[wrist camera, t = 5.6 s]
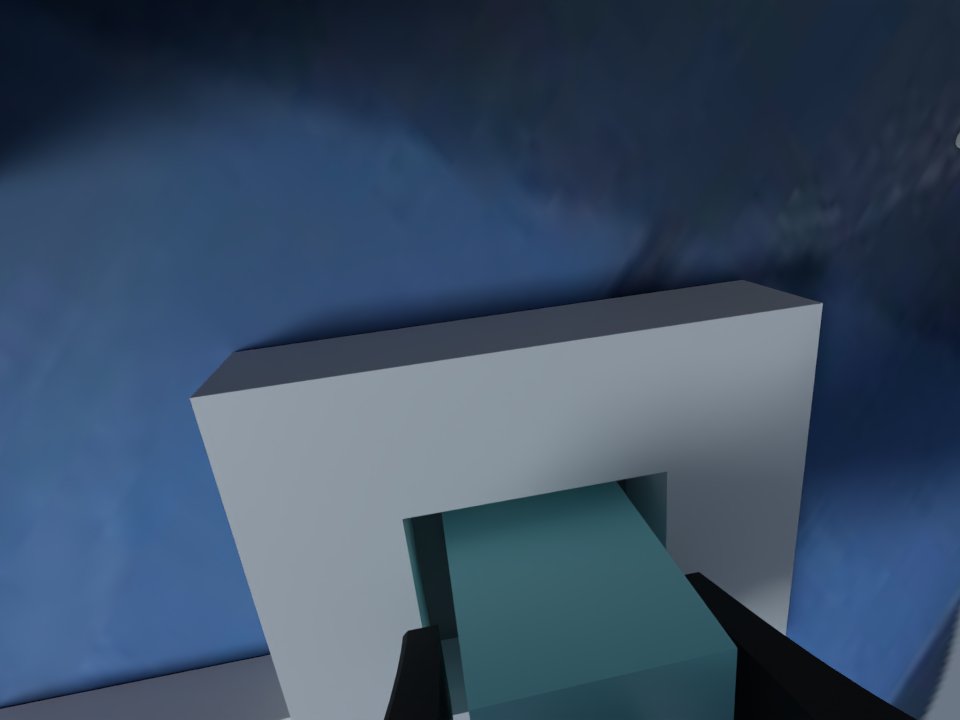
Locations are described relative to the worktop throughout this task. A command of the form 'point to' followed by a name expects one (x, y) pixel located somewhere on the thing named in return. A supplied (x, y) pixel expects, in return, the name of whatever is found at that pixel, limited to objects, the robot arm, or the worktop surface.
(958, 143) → the skincare box
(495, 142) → the worktop surface
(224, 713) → the white square tray
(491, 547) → the plug
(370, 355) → the port
